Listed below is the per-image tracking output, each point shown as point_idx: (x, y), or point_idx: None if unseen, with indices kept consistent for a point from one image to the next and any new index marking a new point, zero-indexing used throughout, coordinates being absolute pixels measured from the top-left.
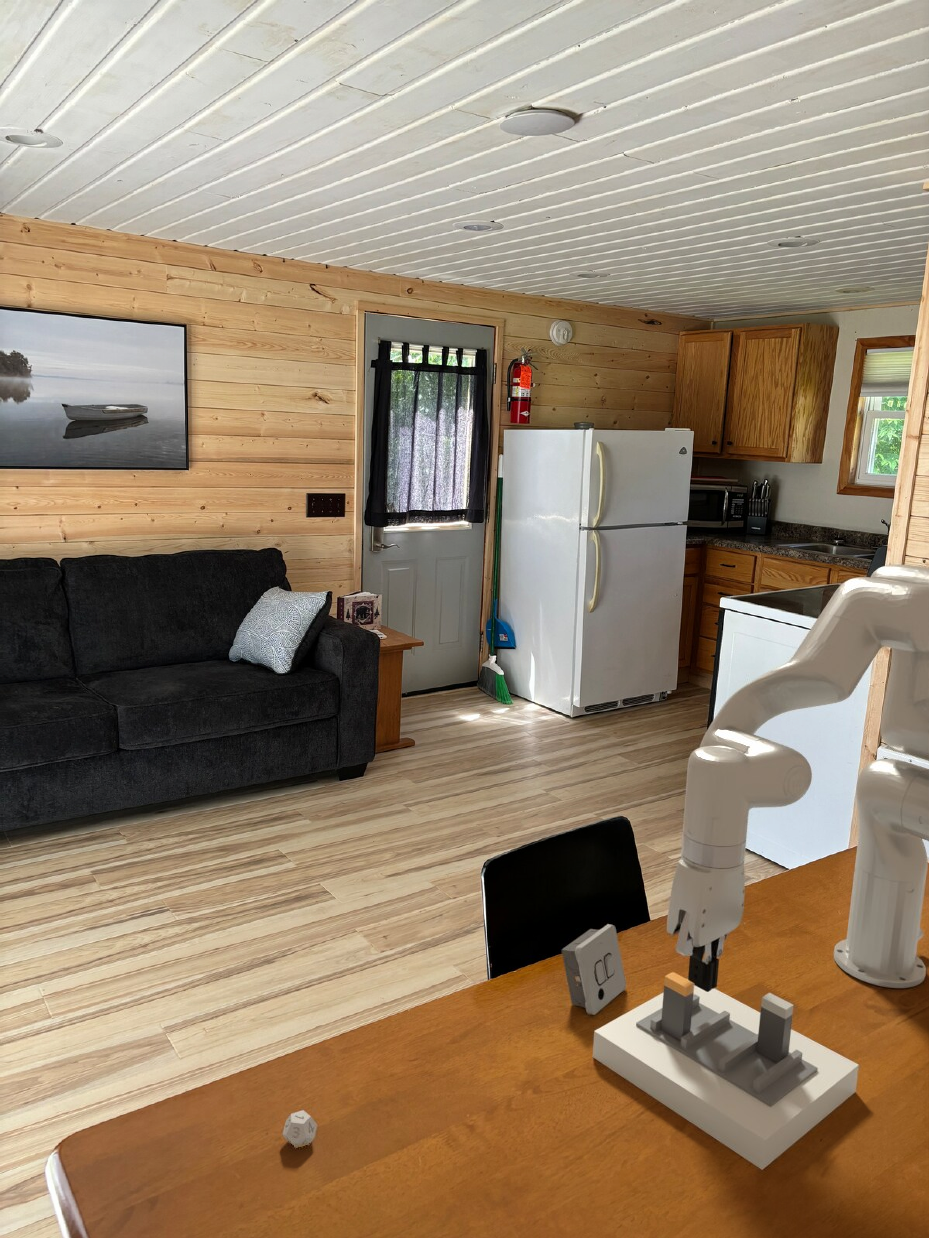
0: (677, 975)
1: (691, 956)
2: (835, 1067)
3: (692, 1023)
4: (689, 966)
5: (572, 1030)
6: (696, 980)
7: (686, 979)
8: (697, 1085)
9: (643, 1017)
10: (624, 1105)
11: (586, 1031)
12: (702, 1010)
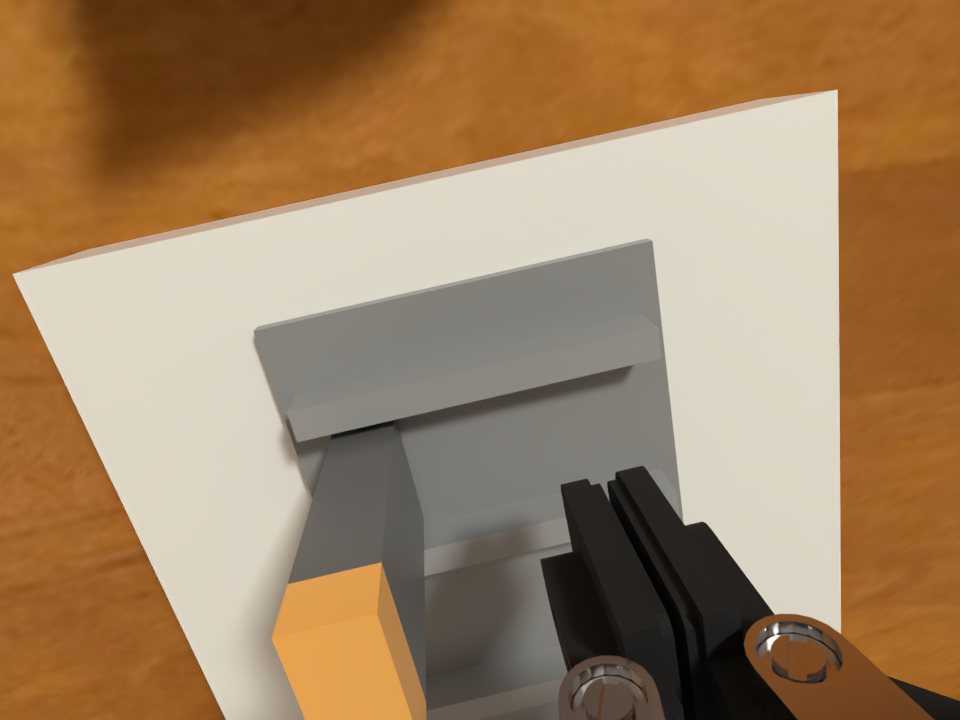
0: (379, 657)
1: (615, 624)
2: None
3: (509, 440)
4: (586, 548)
5: (82, 30)
6: (549, 601)
7: (404, 718)
8: (274, 699)
9: (334, 287)
10: (83, 516)
11: (149, 72)
12: (625, 383)
